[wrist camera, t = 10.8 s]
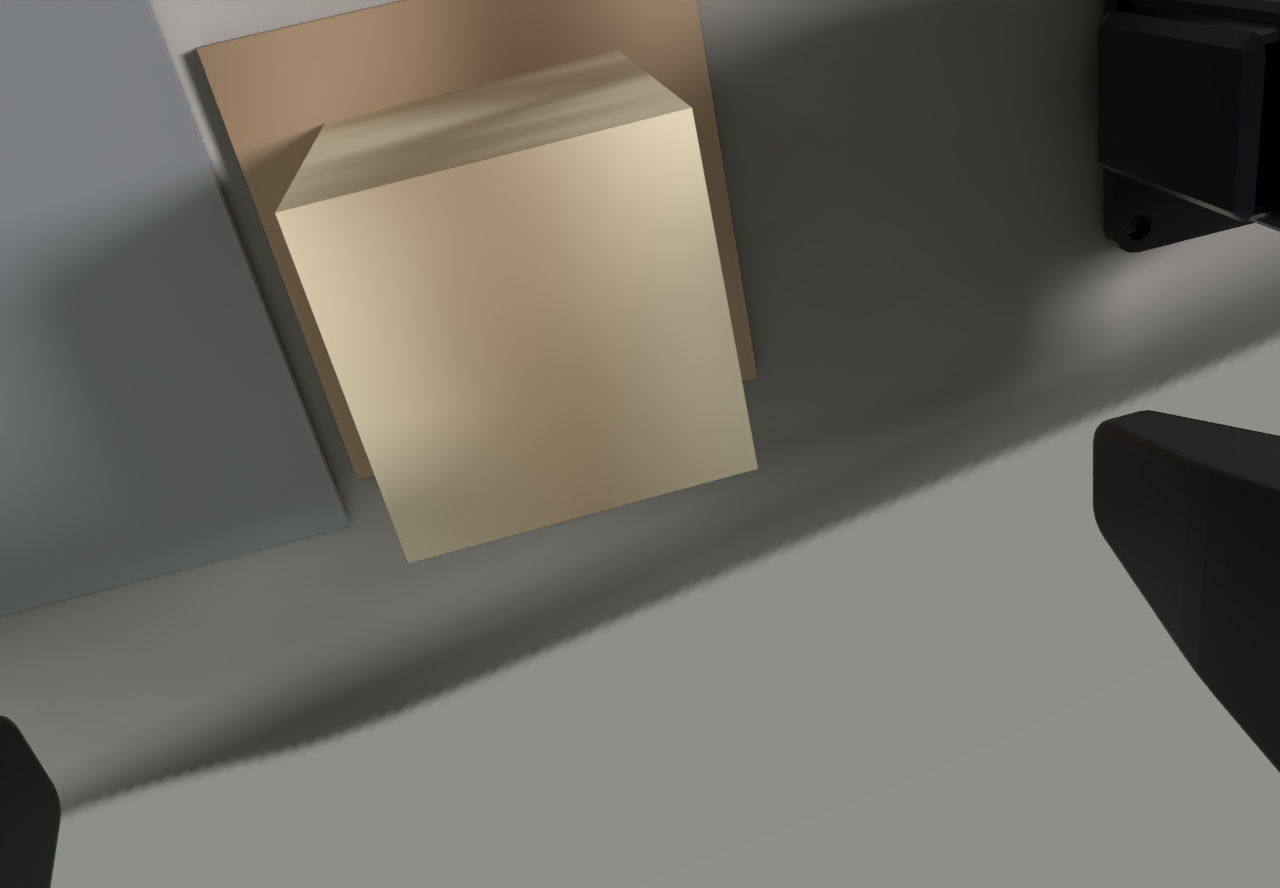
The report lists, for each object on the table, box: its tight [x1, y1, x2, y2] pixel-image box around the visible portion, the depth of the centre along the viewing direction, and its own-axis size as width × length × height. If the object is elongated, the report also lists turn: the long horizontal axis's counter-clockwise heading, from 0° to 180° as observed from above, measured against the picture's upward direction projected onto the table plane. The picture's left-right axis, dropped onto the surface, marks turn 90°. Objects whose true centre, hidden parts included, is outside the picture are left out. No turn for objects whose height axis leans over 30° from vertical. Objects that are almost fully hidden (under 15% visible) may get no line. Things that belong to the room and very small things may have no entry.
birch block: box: [275, 50, 758, 564], centre depth 16 cm, size 5×5×6 cm
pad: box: [196, 0, 758, 480], centre depth 19 cm, size 8×8×1 cm
